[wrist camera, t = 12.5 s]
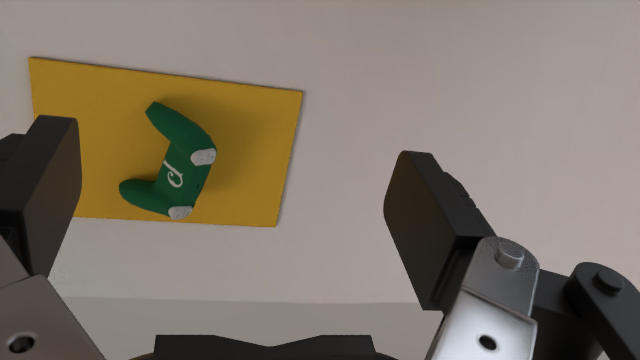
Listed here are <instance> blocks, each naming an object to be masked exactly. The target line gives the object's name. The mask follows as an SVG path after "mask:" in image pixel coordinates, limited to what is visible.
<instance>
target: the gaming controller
mask: <svg viewBox="0 0 640 360" xmlns="http://www.w3.org/2000/svg"><path fill="white" fill-rule="evenodd" d="M145 114H146V116H147V117H148V118H149V120H150V121H151V123H152V124H153V126H154V127H155V128H156V129H157V130H158V131H159V132H160V133H161V134H162V135H164V136H165V137H166V138H167V139H168V140H169V141H170V145H169V147H168V150H167V152H166V155H165V157H164V160H163V162H162V165H161V168H160V170H159V173H158V176H157V179H156V181H148V180H140V179H127V180H124V181H122V182H121V183H120V184H119V193H120V195H121V196H122V198H123V199H125V200H126V201H127V202H129V203H130V204H132V205H135V206H137V207H139V208H142V209H145V210H148V211H152V212H155V213H159V214H162V215H165V216H168V217H171V219H172V220H178V219H183V218H185V217H187V216H188V215H189V214H190V213H191V212H192V209H193V208H194V206H195V202H196V200H197V198H198V196H199V195H200V193H201V191H202V188H203V186H204V184H205V181H206V179H207V177H208V174H209V172H210V169H211V164H213V163H214V161H215V158H216V154H217V148H216V146H215V144H214V143H213V141H212V140H211V137H210V136H209V135H208V134H207V133H206V132H205V131H204V130H203V129H202V128H201V127H200V126H198V125H197V124H196V123H195V122H193V121H191V120H190V119H188V118H187V117H185V116H183V115H182V114H180V113H179V112H177V111H175V110H173V109H171V108H169V107H167V106H165V105H163V104H161V103H158V102H155V101H153V103H152V104H151V105H150V106H149V107H148V108H147V109H146V111H145Z"/></svg>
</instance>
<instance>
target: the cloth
mask: <svg viewBox="0 0 640 360" xmlns="http://www.w3.org/2000/svg"><path fill="white" fill-rule="evenodd" d="M28 61H29V71H30V81H31V91H32V100H33V110H34V120H36V118H37V117H38V116H39V115H52V116H62V117H72V118H76V119H77V121H78V126H79V137H80V151H81V165H82V189H81V195H80V199H79V202H78V204H77V207H76V209H75V212H74V214H73V217H88V218H107V219H125V220H144V221H163V222H182V223H201V224H220V225H239V226H258V227H276V222H277V217H278V212H279V207H280V202H281V197H282V193H283V188H284V183H285V178H286V173H287V168H288V163H289V159H290V154H291V149H292V144H293V139H294V134H295V129H296V125H297V120H298V115H299V110H300V105H301V100H302V95H303V92H301V91H293V90H285V89H277V88H269V87H261V86H253V85H246V84H238V83H230V82H222V81H214V80H206V79H198V78H191V77H183V76H175V75H167V74H159V73H151V72H143V71H135V70H128V69H120V68H112V67H104V66H96V65H88V64H80V63H73V62H65V61H57V60H49V59H41V58H33V57H29V58H28ZM153 101H155V102H158V103H161V104H163V105H165V106H167V107H169V108H171V109H173V110H175V111H177V112H179V113H180V114H182V115H183V116H185V117H187V118H188V119H190V120H191V121H193V122H195V123H196V124H197V125H198V126H200V127H201V128H202V129H203V130H204V131H205V132H206V133H207V134H208V135H209V136H210V137H211V140H212V141H213V143H214V144H215V146H216V148H217V154H216V158H215V161H214V163H213V164H211V169H210V172H209V174H208V177H207V179H206V181H205V184H204V186H203V188H202V191H201V193H200V195H199V196H198V198H197V200H196V202H195V206H194V208H193V209H192V212H191V213H190V214H189V215H188V216H187V217H185V218H183V219H178V220H172V219H171V217H168V216H165V215H162V214H159V213H155V212H152V211H148V210H145V209H142V208H139V207H137V206H135V205H132V204H130V203H129V202H127V201H126V200H125V199H123V198H122V196H121V195H120V193H119V184H120V183H121V182H122V181H124V180H127V179H140V180H148V181H156V179H157V176H158V173H159V170H160V168H161V165H162V162H163V160H164V157H165V155H166V152H167V150H168V147H169V145H170V141H169V140H168V139H167V138H166V137H165V136H164V135H162V134H161V133H160V132H159V131H158V130H157V129H156V128H155V127H154V126H153V124H152V123H151V121H150V120H149V118H148V117H147V116H146V114H145V111H146V109H147V108H148V107H149V106H150V105H151V104H152V103H153Z"/></svg>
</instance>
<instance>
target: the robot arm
mask: <svg viewBox="0 0 640 360" xmlns="http://www.w3.org/2000/svg"><path fill="white" fill-rule="evenodd" d="M81 189H82V165H81V151H80V137H79V126H78V121H77V119H76V118H72V117H62V116H52V115H39V116H38V117H37V118H36V120H35V121H34V123H33V124H32V126H31V127H30V128H29V130H28V131H27V133H26V134H14V133H12V134H10V135H8V136H6V137H5V138H3V139H1V140H0V360H106V359H105V358H104V356H103V354H102V353H101V352H100V350H99V349H98V348H97V346H96V345H95V344H94V342H93V341H92V339H91V338H90V337H89V335H88V334H87V333H86V331H85V330H84V328H83V327H82V326H81V324H80V323H79V322H78V320H77V319H76V318H75V316H74V315H73V313H72V312H71V311H70V310H69V308H68V307H67V305H66V304H65V303H64V301H63V300H62V298H61V297H60V296H59V294H58V293H57V292H56V290H55V289H54V287H53V286H52V285H51V283H50V282H49V281H48V279H47V278H48V276H49V273H50V271H51V268H52V266H53V263H54V261H55V258H56V256H57V254H58V251H59V249H60V246H61V244H62V241H63V239H64V236H65V234H66V231H67V229H68V226H69V224H70V221H71V219H72V217H73V214H74V212H75V209H76V207H77V204H78V202H79V199H80V195H81ZM383 212H384V218H385V221H386V224H387V226H388V229H389V231H390V233H391V236H392V238H393V240H394V243H395V245H396V248H397V250H398V252H399V255H400V257H401V259H402V262H403V264H404V267H405V269H406V271H407V274H408V276H409V279H410V281H411V283H412V286H413V288H414V290H415V293H416V295H417V298H418V300H419V302H420V305H421V307H422V309H423V310H434V311H435V310H436V311H438V310H439V311H442V312H443V314H444V316H443V318H442V320H441V322H440V325H439V327H438V329H437V331H436V334H435V336H434V338H433V341H432V343H431V345H430V348H429V350H428V352H427V355H426V357H425V359H424V360H597V358H598V357H599V356H600V355H601V353H602V352H603V351H605V353H606V354H607V356H608V357H609V359H610V360H640V292H639V291H638V290H637V289H636V288H635V286H634V285H633V284H632V283H631V282H630V281H629V280H627V279H626V278H625V277H624V276H622V275H621V274H619V273H618V272H616V271H614V270H612V269H611V268H608V267H606V266H603V265H601V264H597V263H592V262H583V263H580V264H578V265H577V266H576V267H575V269H574V271H573V272H572V274H571V275H570V277H567V276H564V275H560V274H557V273H553V272H549V271H546V270H542V269H540V266H539V263H538V261H537V260H536V258H535V257H534V256H533V255H532V253H530V252H529V251H528V250H527V249H526V248H524V247H523V246H521V245H519V244H518V243H516V242H514V241H511V240H509V239H505V238H502V237H497V235H496V234H495V232H494V231H493V229H492V228H491V226H490V225H489V224H488V222H487V221H486V219H485V218H484V216H483V215H482V213H481V212H480V210H479V209H478V208H476V205H475V203H474V202H473V200H472V199H471V198H469V194H468V193H467V191H466V190H465V189H464V187H463V186H462V184H461V183H460V182H458V181H457V180H456V179H455V178H453V177H452V176H451V175H450V174H448V173H447V172H443V170H442V169H441V167H440V166H439V164H438V163H437V161H436V160H435V158H434V157H433V155H432V154H431V153H426V152H416V151H405V150H404V151H402V152H401V153H400V154H399V156H398V159H397V162H396V165H395V168H394V171H393V174H392V177H391V180H390V183H389V186H388V189H387V192H386V195H385V199H384V207H383ZM129 360H398V359H395V358H393V357H391V356H388V355H384V354H382V353H378V352H376V351H375V348H374V345H373V341H372V338H371V335H320V336H316V337H312V338H307V339H303V340H299V341H295V342H290V343H286V344H282V345H277V346H270V347H267V346H262V345H257V344H253V343H248V342H243V341H238V340H234V339H229V338H225V337H219V336H216V335H156V339H155V347H154V352H153V353H149V354H145V355H141V356H138V357H135V358H132V359H129Z"/></svg>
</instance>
